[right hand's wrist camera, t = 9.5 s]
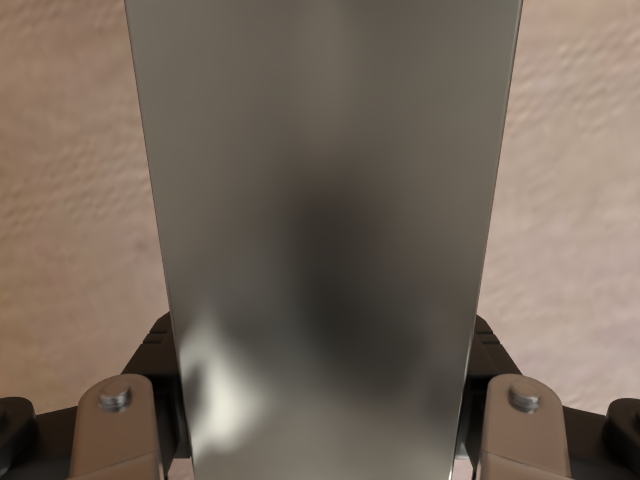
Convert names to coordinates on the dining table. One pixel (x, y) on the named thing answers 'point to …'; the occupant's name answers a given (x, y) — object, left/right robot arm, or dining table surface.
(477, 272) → the bar
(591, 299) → the dining table surface
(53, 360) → the dining table surface
